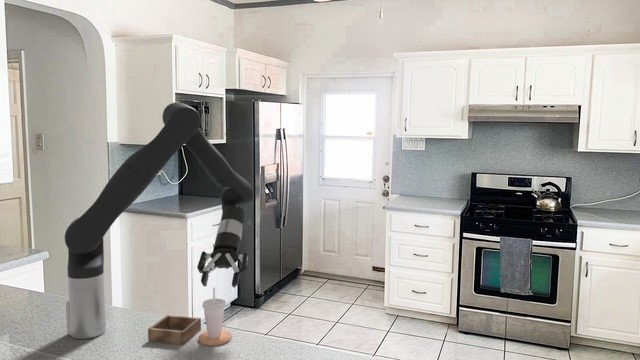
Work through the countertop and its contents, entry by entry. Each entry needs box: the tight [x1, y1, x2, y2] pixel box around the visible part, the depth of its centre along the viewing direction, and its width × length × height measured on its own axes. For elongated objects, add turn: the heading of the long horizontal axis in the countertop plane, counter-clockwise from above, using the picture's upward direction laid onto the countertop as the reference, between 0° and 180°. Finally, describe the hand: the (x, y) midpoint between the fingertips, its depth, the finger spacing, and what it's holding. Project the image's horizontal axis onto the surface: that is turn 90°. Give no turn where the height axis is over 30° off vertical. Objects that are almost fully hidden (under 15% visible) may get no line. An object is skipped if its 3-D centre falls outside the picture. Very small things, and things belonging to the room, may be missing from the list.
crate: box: [147, 314, 202, 346], centre depth 142 cm, size 11×11×4 cm
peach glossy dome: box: [198, 329, 233, 347], centre depth 140 cm, size 9×9×1 cm
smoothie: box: [202, 286, 227, 339], centre depth 139 cm, size 6×6×14 cm
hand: (218, 285), depth 143 cm, fingers open, 8 cm apart
